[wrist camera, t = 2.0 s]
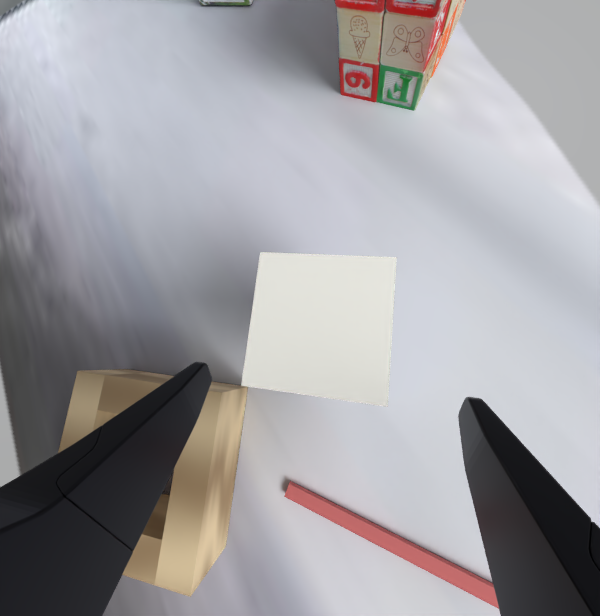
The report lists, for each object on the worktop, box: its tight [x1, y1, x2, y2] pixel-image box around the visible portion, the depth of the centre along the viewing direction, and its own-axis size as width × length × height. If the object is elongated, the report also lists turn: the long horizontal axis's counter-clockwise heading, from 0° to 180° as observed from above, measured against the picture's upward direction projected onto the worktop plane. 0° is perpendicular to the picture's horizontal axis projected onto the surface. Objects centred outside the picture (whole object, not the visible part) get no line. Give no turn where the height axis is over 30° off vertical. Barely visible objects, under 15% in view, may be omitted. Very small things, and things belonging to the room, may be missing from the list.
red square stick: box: [284, 481, 499, 608], centre depth 16 cm, size 14×1×1 cm, turn 69°
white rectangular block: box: [241, 252, 397, 407], centre depth 13 cm, size 4×4×12 cm
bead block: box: [58, 369, 248, 597], centre depth 18 cm, size 10×10×4 cm
